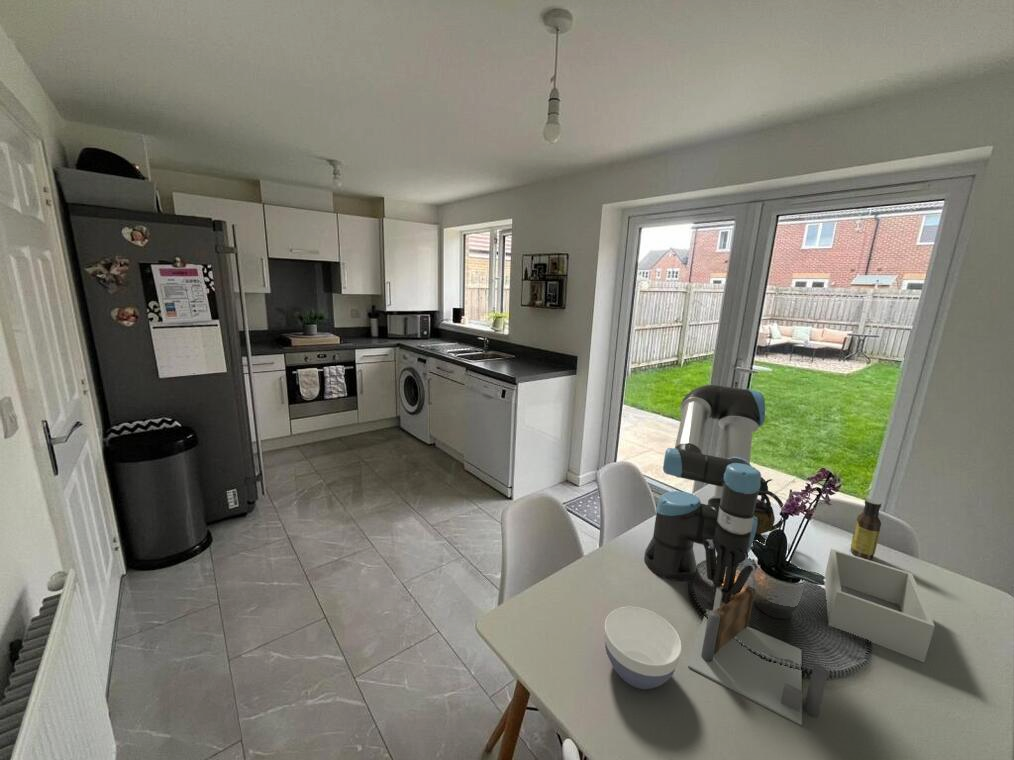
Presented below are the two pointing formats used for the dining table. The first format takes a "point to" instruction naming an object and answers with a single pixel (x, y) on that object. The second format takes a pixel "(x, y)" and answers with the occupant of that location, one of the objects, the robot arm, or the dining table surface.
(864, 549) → the sauce bottle
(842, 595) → the box
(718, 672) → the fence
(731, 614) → the gate
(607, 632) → the bowl
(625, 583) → the dining table surface
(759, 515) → the teapot
